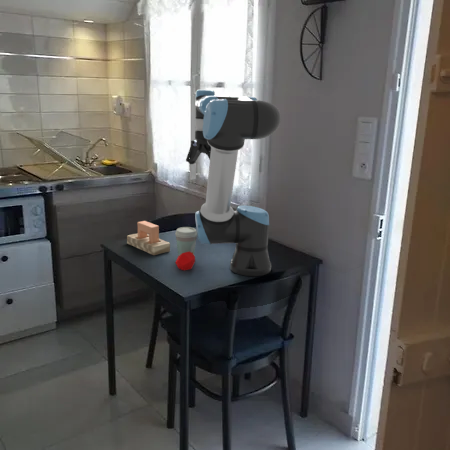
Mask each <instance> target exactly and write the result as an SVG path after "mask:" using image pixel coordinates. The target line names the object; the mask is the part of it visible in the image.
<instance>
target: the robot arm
mask: <svg viewBox="0 0 450 450" xmlns="http://www.w3.org/2000/svg"><path fill="white" fill-rule="evenodd" d="M194 121H195V125H194V128H195V129H196V130H195V132H194V140H191V141H190V147H189V149H188V152H187V156H186V158H185V162H187V163H188V164H189V169H188V170H189V180H190V181H193V180H197V162H196V161H197V160H198V158H199V157H200V155H202V154H205V155H206V156H207V157H208V160H209V165H208V166H209V168H208V176H207V183H206V185H207V186H206V196H205V202H204V203H203V204H202V205H201V206H200V210H198V211H196V212H195V213H194V214H195V215H194V216H195V218H194V219H195V226H196V227H195V229H196V231H197V240H198V242H199V243H200V244H202V245H203V244H204V245H216V244H235V249H234V252H233V255H232V257H231V260H230V265H229V266H230V267H229V269H230V271H232V272H233V273H234V274H237V275H241V276H246V277H259V276H260V277H261V276H264V275H268V274H269V273H271V271H272V262H271V261H270V256H269V255H270V254H269V251H268V247H269V246H268V244H269V230H270V229H269V228H270V227H269V226H270V216H269V212H268V211H266V210H265V209H264V208H260V207H257V206H254V205H253V206H252V205H238V206H237V208H236V210H234V208H233V207H232V206H231V204H232V197H233V188H234V183H235V175H236V169H237V168H236V167H237V162H238V154H239V150H242V149H243V147H244V145H245V140H261V139H264V138H265V139H266V138H268V137H270V136H272V135H273V134H274V133H275V132H276V131H277V130H278V129H279V127H280V126H281V122H282V115H281V111H280V109H279V108H278V107H277V105H275V104H274V103H271V102H270V101H269V102H268V101H264V100H258V99H257V98H256V97H254V96H249V95H248V96H235V95H234V96H231V95H227V96H226V95H216V94H215V91H214V90H212V89H197V90H196V91H195V120H194Z"/></svg>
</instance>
